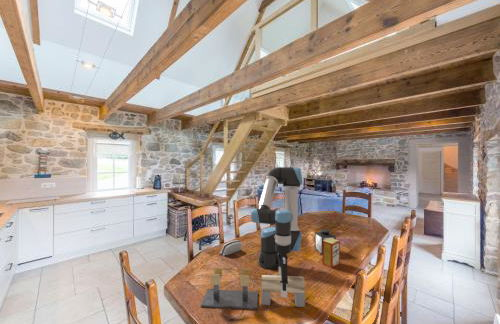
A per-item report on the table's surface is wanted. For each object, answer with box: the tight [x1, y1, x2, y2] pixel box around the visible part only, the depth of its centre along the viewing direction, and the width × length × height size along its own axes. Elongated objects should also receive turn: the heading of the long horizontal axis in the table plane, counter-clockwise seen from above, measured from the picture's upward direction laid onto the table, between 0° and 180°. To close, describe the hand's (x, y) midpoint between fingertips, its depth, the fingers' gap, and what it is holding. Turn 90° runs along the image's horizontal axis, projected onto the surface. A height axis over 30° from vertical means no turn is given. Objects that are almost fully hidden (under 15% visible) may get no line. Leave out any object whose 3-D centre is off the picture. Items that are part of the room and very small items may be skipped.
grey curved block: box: [219, 239, 243, 257], centre depth 155 cm, size 17×5×10 cm, turn 131°
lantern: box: [314, 214, 337, 256], centre depth 159 cm, size 11×11×28 cm
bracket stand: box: [200, 267, 259, 311], centre depth 101 cm, size 12×26×14 cm, turn 86°
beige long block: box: [261, 274, 306, 294], centre depth 99 cm, size 4×20×6 cm, turn 87°
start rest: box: [261, 290, 306, 308], centre depth 99 cm, size 5×20×6 cm, turn 86°
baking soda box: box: [322, 238, 341, 269], centre depth 138 cm, size 10×6×16 cm
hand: (282, 288), depth 99 cm, fingers open, 13 cm apart
